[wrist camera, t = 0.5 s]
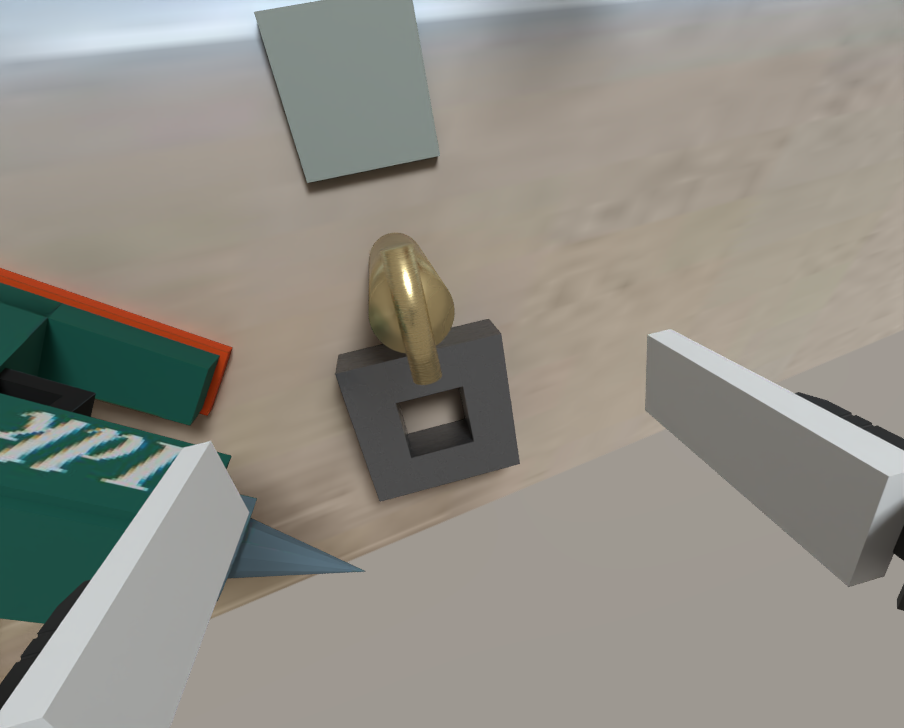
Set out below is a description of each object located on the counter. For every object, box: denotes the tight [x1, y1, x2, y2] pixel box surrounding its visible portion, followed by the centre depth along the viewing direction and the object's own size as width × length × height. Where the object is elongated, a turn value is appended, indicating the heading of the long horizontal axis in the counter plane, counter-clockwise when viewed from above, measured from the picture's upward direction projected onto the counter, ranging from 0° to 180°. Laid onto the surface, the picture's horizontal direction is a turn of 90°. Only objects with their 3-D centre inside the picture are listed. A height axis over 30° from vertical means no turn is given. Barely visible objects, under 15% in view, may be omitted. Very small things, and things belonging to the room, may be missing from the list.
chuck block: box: [335, 319, 520, 501], centre depth 39 cm, size 14×14×4 cm
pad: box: [254, 0, 440, 183], centre depth 29 cm, size 10×10×1 cm
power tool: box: [0, 268, 364, 624], centre depth 27 cm, size 32×7×20 cm, turn 63°
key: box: [369, 233, 454, 385], centre depth 27 cm, size 4×7×16 cm, turn 11°
